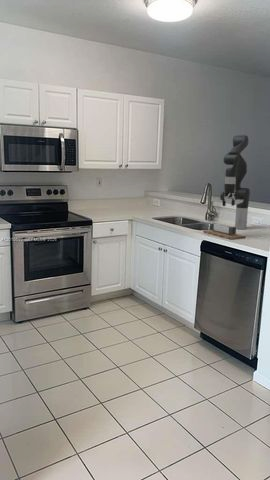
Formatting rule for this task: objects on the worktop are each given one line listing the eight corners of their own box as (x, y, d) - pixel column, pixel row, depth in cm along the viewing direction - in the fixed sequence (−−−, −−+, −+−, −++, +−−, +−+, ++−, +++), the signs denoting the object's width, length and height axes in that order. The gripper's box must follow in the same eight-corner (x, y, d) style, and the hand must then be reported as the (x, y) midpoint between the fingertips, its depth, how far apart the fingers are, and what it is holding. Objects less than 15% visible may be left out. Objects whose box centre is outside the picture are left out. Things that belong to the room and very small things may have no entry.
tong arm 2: (215, 229, 294) (216, 223, 293) (217, 229, 295) (217, 223, 294) (233, 234, 277) (234, 227, 276) (235, 234, 278) (236, 227, 277)
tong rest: (203, 232, 296) (203, 222, 294) (217, 231, 302) (217, 221, 301) (231, 239, 270) (231, 229, 269) (245, 238, 277) (246, 227, 276)
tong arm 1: (213, 230, 293) (213, 223, 292) (214, 230, 294) (215, 223, 293) (231, 234, 276) (231, 227, 275) (233, 234, 277) (233, 227, 276)
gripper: (226, 183, 270) (224, 206, 273) (241, 183, 277) (239, 206, 280) (218, 183, 276) (217, 205, 280) (233, 182, 283) (232, 204, 287)
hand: (228, 205), depth 280 cm, fingers open, 8 cm apart
